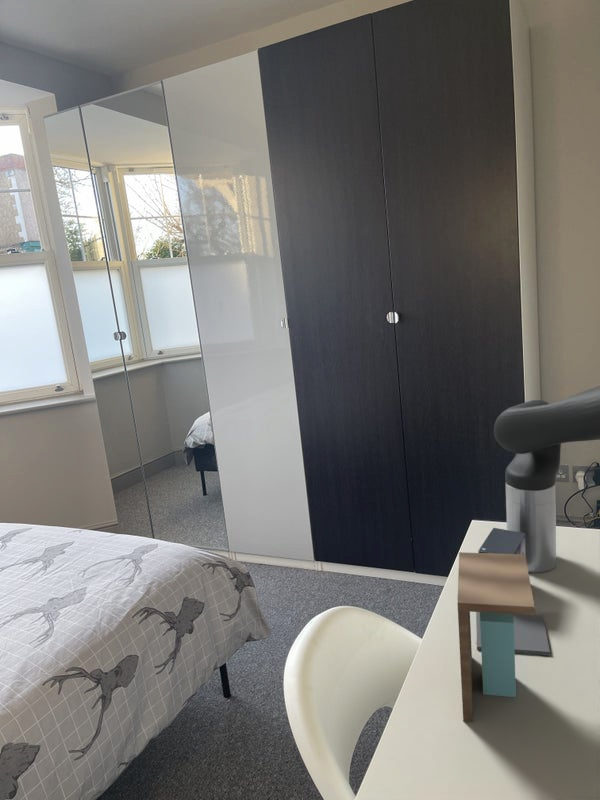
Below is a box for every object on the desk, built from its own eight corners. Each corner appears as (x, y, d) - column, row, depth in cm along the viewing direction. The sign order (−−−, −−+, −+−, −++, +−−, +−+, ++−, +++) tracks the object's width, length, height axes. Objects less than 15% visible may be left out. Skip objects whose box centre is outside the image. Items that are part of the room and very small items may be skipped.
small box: (515, 610, 107) (513, 556, 105) (478, 603, 111) (476, 550, 108) (527, 582, 116) (526, 531, 113) (493, 575, 119) (491, 526, 117)
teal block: (482, 673, 92) (479, 603, 89) (513, 676, 91) (511, 605, 88) (483, 694, 88) (480, 620, 85) (515, 697, 87) (513, 623, 84)
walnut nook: (464, 656, 96) (459, 552, 92) (527, 661, 94) (525, 554, 90) (463, 720, 83) (457, 602, 79) (536, 728, 81) (534, 606, 77)
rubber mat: (476, 614, 107) (476, 611, 107) (542, 618, 104) (542, 615, 104) (476, 649, 98) (476, 646, 98) (550, 655, 95) (549, 651, 94)
